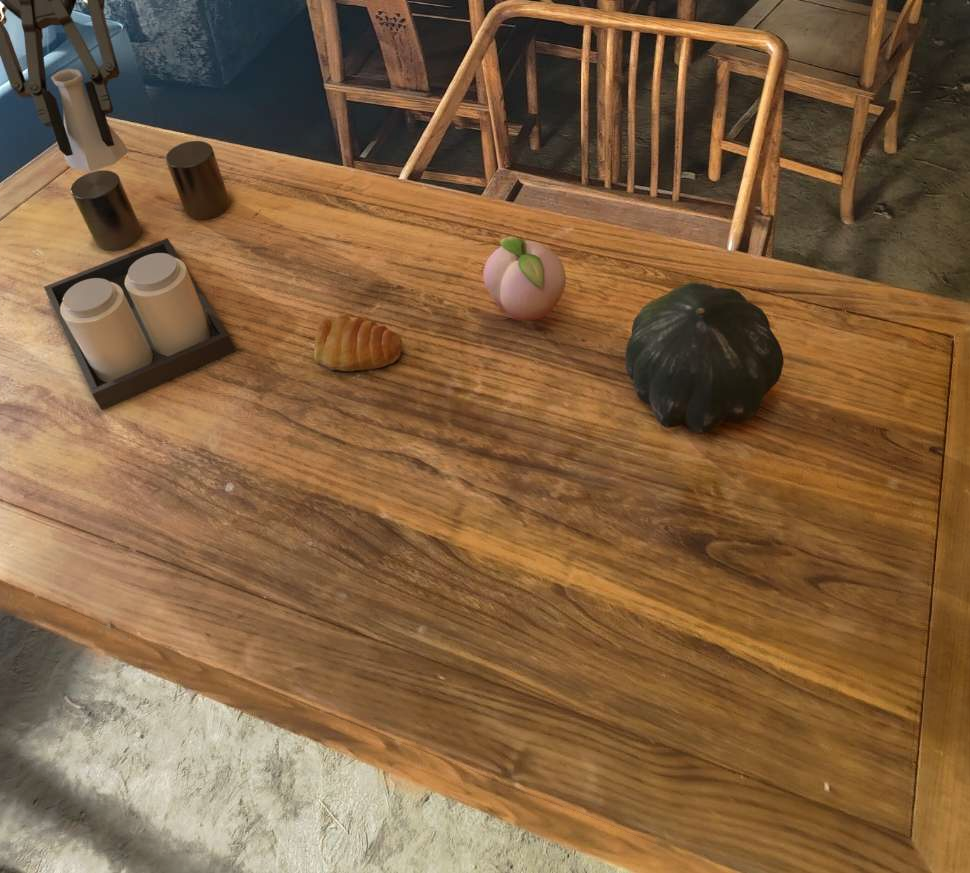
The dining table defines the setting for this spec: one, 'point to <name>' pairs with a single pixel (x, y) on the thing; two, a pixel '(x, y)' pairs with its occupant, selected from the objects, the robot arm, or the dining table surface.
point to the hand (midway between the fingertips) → (87, 147)
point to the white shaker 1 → (105, 328)
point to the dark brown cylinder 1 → (106, 210)
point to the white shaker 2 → (167, 303)
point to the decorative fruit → (524, 278)
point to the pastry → (355, 344)
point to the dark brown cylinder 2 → (198, 180)
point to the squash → (702, 357)
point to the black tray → (161, 365)
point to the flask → (84, 126)
